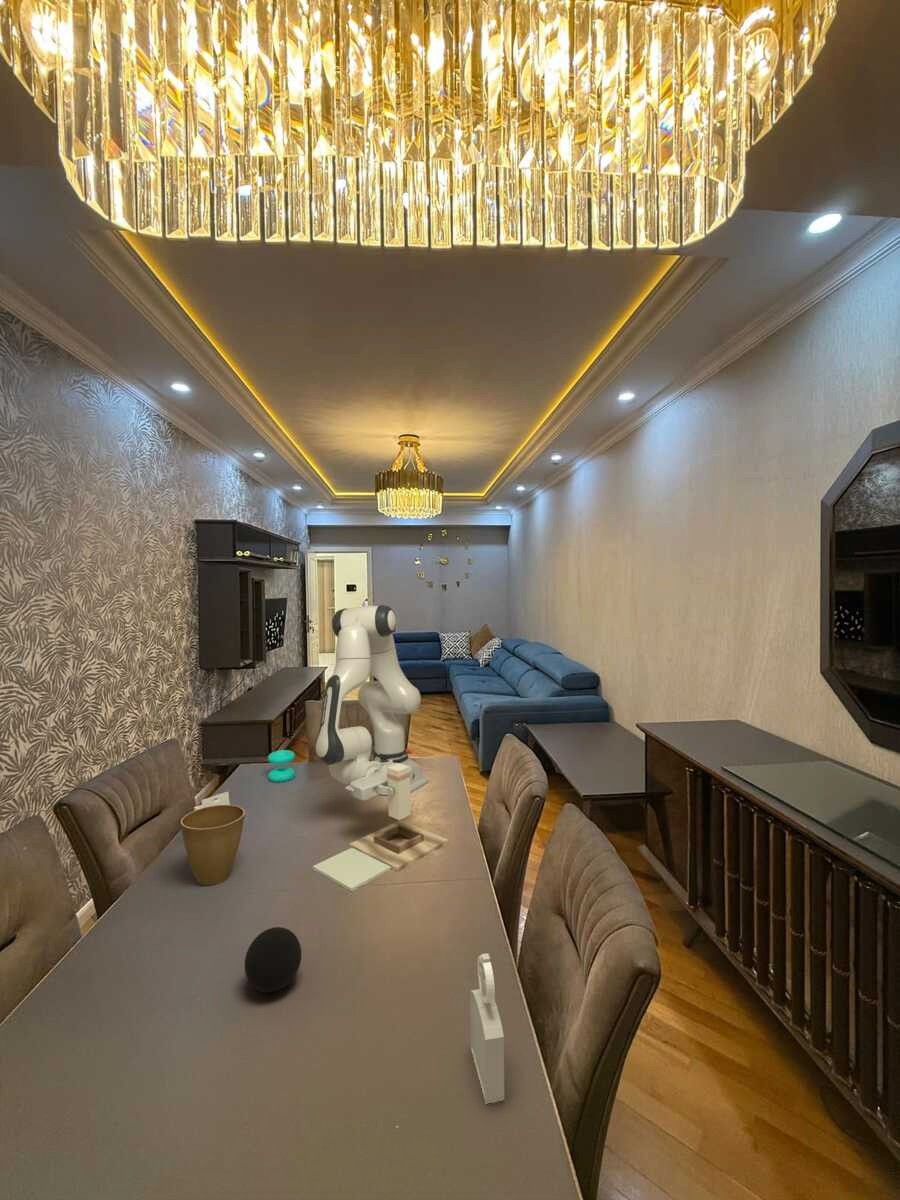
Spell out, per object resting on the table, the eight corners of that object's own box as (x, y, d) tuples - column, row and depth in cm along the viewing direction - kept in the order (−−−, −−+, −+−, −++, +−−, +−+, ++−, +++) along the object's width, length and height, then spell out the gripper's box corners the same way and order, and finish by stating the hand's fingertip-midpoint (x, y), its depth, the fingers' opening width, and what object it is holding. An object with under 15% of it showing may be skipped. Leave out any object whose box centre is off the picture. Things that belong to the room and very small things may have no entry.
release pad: (351, 850, 149) (351, 847, 149) (390, 869, 138) (390, 866, 138) (312, 869, 139) (312, 866, 139) (351, 891, 128) (351, 888, 128)
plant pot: (222, 897, 127) (221, 831, 126) (168, 890, 130) (166, 826, 129) (257, 865, 141) (256, 806, 141) (207, 860, 144) (206, 801, 144)
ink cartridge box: (222, 836, 158) (221, 787, 158) (231, 840, 155) (230, 791, 155) (193, 847, 151) (192, 796, 151) (202, 852, 148) (201, 800, 148)
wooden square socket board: (399, 823, 166) (399, 814, 165) (448, 843, 152) (448, 833, 152) (348, 847, 150) (348, 837, 150) (397, 871, 137) (397, 860, 137)
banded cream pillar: (400, 809, 155) (398, 763, 154) (411, 814, 152) (410, 766, 151) (388, 815, 152) (386, 767, 151) (399, 820, 148) (398, 771, 148)
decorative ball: (309, 967, 103) (308, 916, 103) (289, 1008, 93) (288, 952, 93) (260, 964, 104) (259, 914, 104) (234, 1004, 94) (233, 949, 94)
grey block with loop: (487, 1045, 85) (486, 935, 85) (504, 1101, 76) (503, 977, 75) (470, 1048, 84) (469, 937, 84) (485, 1104, 75) (484, 980, 75)
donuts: (296, 754, 203) (269, 758, 199) (297, 780, 203) (269, 784, 199) (292, 747, 212) (266, 751, 208) (293, 772, 212) (267, 776, 208)
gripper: (341, 777, 152) (373, 789, 143) (393, 757, 167) (425, 767, 158) (341, 798, 152) (373, 811, 143) (393, 777, 168) (425, 787, 159)
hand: (401, 788), depth 151 cm, fingers closed on banded cream pillar, 4 cm apart
